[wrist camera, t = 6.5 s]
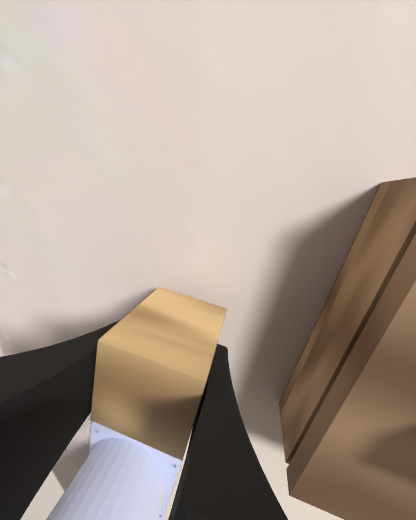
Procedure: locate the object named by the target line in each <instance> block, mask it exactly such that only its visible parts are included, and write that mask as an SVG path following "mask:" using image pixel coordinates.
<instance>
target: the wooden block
mask: <svg viewBox="0 0 416 520" xmlns="http://www.w3.org/2000/svg"><path fill="white" fill-rule="evenodd" d="M226 310H227V309H225V308H222V307H219V306H216V305H213V304H210V303H207V302H204V301H201V300H198V299H195V298H192V297H189V296H186V295H183V294H180V293H177V292H174V291H171V290H167V289H164V288H161V287H159V288H157V289H156V290H155V291H154V292H153V293H152V294H150V295H149V296H148V297H147V298H146V299H145V300H144V301H142V302H141V303H140V304H139V305H138V306H137V307H136V308H134V309H133V310H132V311H131V312H130V313H129V314H127V315H126V316H125V317H124V318H123V319H122V320H121V321H119V322H118V323H117V324H116V325H115V326H114V327H112V328H111V329H110V330H109V331H108V332H107V333H106V334H104V335H103V336H102V337H101V338H100V339H99V340H98V345H97V355H96V366H95V376H94V387H93V397H92V408H91V419H90V420H91V421H94V422H96V423H98V424H100V425H103V426H105V427H107V428H109V429H112V430H114V431H116V432H118V433H121V434H123V435H125V436H127V437H130V438H132V439H134V440H136V441H139V442H141V443H143V444H145V445H147V446H150V447H152V448H154V449H156V450H159V451H161V452H163V453H165V454H168V455H170V456H172V457H174V458H177V459H179V460H181V461H182V460H183V456H184V453H185V450H186V447H187V443H188V440H189V437H190V434H191V430H192V427H193V424H194V420H195V417H196V414H197V411H198V407H199V404H200V401H201V398H202V394H203V391H204V388H205V384H206V381H207V378H208V374H209V371H210V367H211V363H212V360H213V356H214V353H215V349H216V346H217V342H218V339H219V335H220V332H221V328H222V325H223V321H224V318H225V314H226Z"/></svg>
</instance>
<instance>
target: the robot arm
mask: <svg viewBox="0 0 416 520" xmlns="http://www.w3.org/2000/svg"><path fill="white" fill-rule="evenodd" d="M120 321H121V320H120ZM118 322H119V321H117V322H115V323H113V324H110V325H108V326H106V327H103V328H101V329H99V330H96V331H93V332H91V333H88V334H85V335H83V336H80V337H77V338H74V339H71V340H68V341H65V342H62V343H59V344H55V345H52V346H48V347H44V348H40V349H36V350H32V351H27V352H23V353H19V354H14V355H8V356H3V357H0V520H20V519H21V517H22V515H23V514H24V513H25V511H26V509H27V508H28V506H29V504H30V503H31V501H32V499H33V498H34V496H35V495H36V493H37V492H38V490H39V489H40V487H41V486H42V484H43V482H44V481H45V479H46V478H47V476H48V475H49V473H50V472H51V470H52V468H53V467H54V465H55V464H56V462H57V461H58V459H59V458H60V456H61V455H62V453H63V452H64V450H65V449H66V447H67V446H68V444H69V443H70V441H71V440H72V438H73V437H74V435H75V434H76V433H77V431H78V430H79V428H80V427H81V425H82V424H83V422H84V421H85V420H86V418H87V417H88V415H89V414H90V413H91V408H92V397H93V387H94V376H95V366H96V355H97V345H98V340H99V339H100V338H101V337H102V336H103V335H104V334H106V333H107V332H108V331H109V330H110V329H111V328H112V327H114V326H115V325H116V324H117V323H118ZM180 463H181V460H179V459H177V458H174V457H172V456H170V455H168V454H165V453H163V452H161V451H159V450H156V449H154V448H152V447H150V446H147V445H145V444H143V443H141V442H139V441H136V440H134V439H132V438H130V437H127V436H125V435H123V434H121V433H118V432H116V431H114V430H112V429H109V428H107V427H105V426H103V425H100V424H98V423H96V422H94V421H93V422H92V424H91V434H90V445H89V455H88V458H87V459H86V461H85V462H84V464H83V465H82V467H81V468H80V470H79V471H78V473H77V474H76V476H75V477H74V479H73V480H72V482H71V483H70V485H69V486H68V488H67V489H66V491H65V492H64V494H63V495H62V497H61V499H60V500H59V501H58V503H57V504H56V506H55V507H54V509H53V511H52V512H51V513H50V515H49V516H48V518H47V519H46V520H163V519H164V516H165V513H166V509H167V506H168V503H169V499H170V496H171V493H172V490H173V486H174V483H175V480H176V476H177V473H178V470H179V467H180ZM168 520H288V519H287V517H286V515H285V513H284V511H283V510H282V508H281V506H280V504H279V502H278V500H277V498H276V496H275V494H274V492H273V490H272V488H271V486H270V484H269V482H268V480H267V478H266V476H265V474H264V472H263V470H262V468H261V465H260V463H259V461H258V458H257V456H256V454H255V451H254V449H253V447H252V445H251V442H250V440H249V437H248V434H247V432H246V429H245V427H244V424H243V421H242V418H241V415H240V412H239V408H238V405H237V401H236V398H235V394H234V390H233V386H232V381H231V376H230V370H229V363H228V349H227V347H225V346H222V345H219V344H217V346H216V349H215V353H214V356H213V360H212V363H211V367H210V371H209V374H208V378H207V381H206V384H205V388H204V391H203V394H202V398H201V401H200V404H199V407H198V411H197V414H196V417H195V420H194V424H193V428H192V433H191V438H190V442H189V447H188V451H187V455H186V459H185V463H184V466H183V470H182V473H181V477H180V480H179V484H178V488H177V491H176V495H175V498H174V502H173V505H172V509H171V512H170V516H169V519H168Z"/></svg>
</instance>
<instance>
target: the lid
mask: <svg viewBox="0 0 416 520" xmlns="http://www.w3.org/2000/svg"><path fill="white" fill-rule="evenodd" d="M286 470H287V479H288V488H289V496H292V497H294V498H296V499H299V500H301V501H303V502H305V503H308V504H310V505H312V506H315V507H317V508H319V509H321V510H324V511H326V512H328V513H331V514H333V515H335V516H337V517H340V518H342V519H344V520H416V233H415V235H414V237H413V239H412V241H411V243H410V244H409V246H408V248H407V250H406V252H405V254H404V255H403V257H402V259H401V261H400V263H399V265H398V266H397V268H396V270H395V272H394V274H393V276H392V277H391V279H390V281H389V283H388V285H387V286H386V288H385V290H384V292H383V294H382V296H381V297H380V299H379V301H378V303H377V305H376V307H375V308H374V310H373V312H372V314H371V316H370V318H369V319H368V321H367V323H366V325H365V327H364V329H363V330H362V332H361V334H360V336H359V338H358V339H357V341H356V343H355V345H354V347H353V349H352V350H351V352H350V354H349V356H348V358H347V360H346V361H345V363H344V365H343V367H342V369H341V371H340V372H339V374H338V376H337V378H336V380H335V382H334V383H333V385H332V387H331V389H330V391H329V392H328V394H327V396H326V398H325V400H324V402H323V403H322V405H321V407H320V409H319V411H318V413H317V414H316V416H315V418H314V420H313V422H312V424H311V425H310V427H309V429H308V431H307V433H306V435H305V436H304V438H303V440H302V442H301V444H300V445H299V447H298V449H297V451H296V453H295V455H294V456H293V458H292V460H291V462H290V464H289V466H288V467H287V469H286Z"/></svg>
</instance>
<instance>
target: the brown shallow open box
mask: <svg viewBox="0 0 416 520" xmlns="http://www.w3.org/2000/svg"><path fill="white" fill-rule="evenodd" d="M415 233H416V177H415V178H409V179H402V180H395V181H389V182H382V183H381V184H380V186H379V188H378V190H377V193H376V195H375V197H374V199H373V201H372V203H371V206H370V208H369V210H368V212H367V214H366V216H365V219H364V221H363V223H362V225H361V227H360V229H359V232H358V234H357V236H356V238H355V240H354V242H353V245H352V247H351V249H350V251H349V253H348V255H347V257H346V260H345V262H344V264H343V266H342V268H341V270H340V273H339V275H338V277H337V279H336V281H335V283H334V286H333V288H332V290H331V292H330V294H329V296H328V299H327V301H326V303H325V305H324V307H323V309H322V312H321V314H320V316H319V318H318V320H317V322H316V325H315V327H314V329H313V331H312V333H311V335H310V338H309V340H308V342H307V344H306V346H305V348H304V351H303V353H302V355H301V357H300V359H299V361H298V364H297V366H296V368H295V370H294V372H293V374H292V377H291V379H290V381H289V383H288V385H287V387H286V390H285V392H284V394H283V396H282V398H281V400H280V403H279V406H280V415H281V424H282V433H283V442H284V452H285V461H286V463H288V464H290V462H291V460H292V458H293V456H294V455H295V453H296V451H297V449H298V447H299V445H300V444H301V442H302V440H303V438H304V436H305V435H306V433H307V431H308V429H309V427H310V425H311V424H312V422H313V420H314V418H315V416H316V414H317V413H318V411H319V409H320V407H321V405H322V403H323V402H324V400H325V398H326V396H327V394H328V392H329V391H330V389H331V387H332V385H333V383H334V382H335V380H336V378H337V376H338V374H339V372H340V371H341V369H342V367H343V365H344V363H345V361H346V360H347V358H348V356H349V354H350V352H351V350H352V349H353V347H354V345H355V343H356V341H357V339H358V338H359V336H360V334H361V332H362V330H363V329H364V327H365V325H366V323H367V321H368V319H369V318H370V316H371V314H372V312H373V310H374V308H375V307H376V305H377V303H378V301H379V299H380V297H381V296H382V294H383V292H384V290H385V288H386V286H387V285H388V283H389V281H390V279H391V277H392V276H393V274H394V272H395V270H396V268H397V266H398V265H399V263H400V261H401V259H402V257H403V255H404V254H405V252H406V250H407V248H408V246H409V244H410V243H411V241H412V239H413V237H414V235H415Z"/></svg>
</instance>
